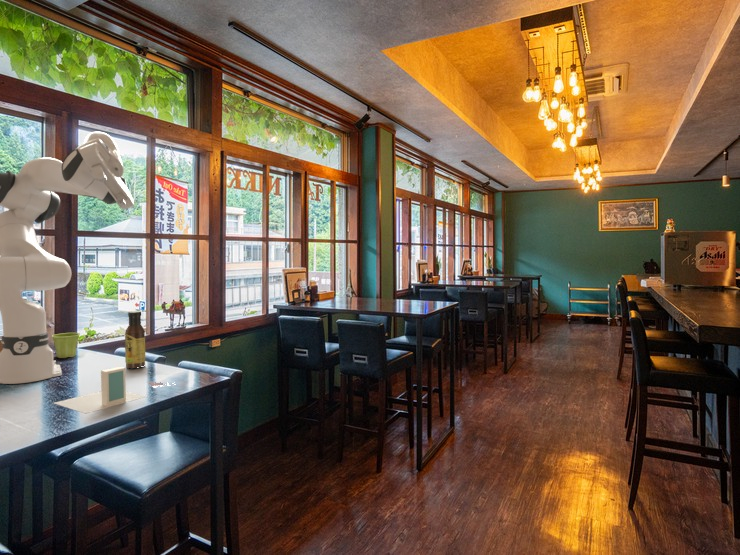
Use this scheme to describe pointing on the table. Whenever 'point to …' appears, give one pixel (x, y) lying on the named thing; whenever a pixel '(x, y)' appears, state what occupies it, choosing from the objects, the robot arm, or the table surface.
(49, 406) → the table surface
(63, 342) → the plant pot
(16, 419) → the table surface
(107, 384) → the card deck
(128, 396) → the bar mat
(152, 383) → the mobile phone
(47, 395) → the table surface
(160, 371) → the table surface
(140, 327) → the sauce bottle
